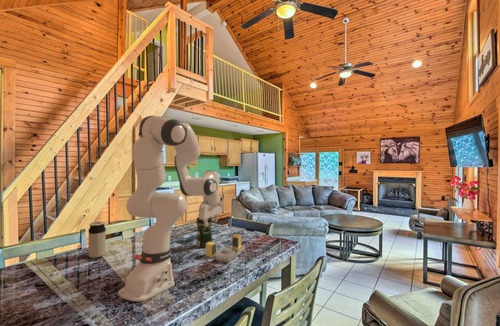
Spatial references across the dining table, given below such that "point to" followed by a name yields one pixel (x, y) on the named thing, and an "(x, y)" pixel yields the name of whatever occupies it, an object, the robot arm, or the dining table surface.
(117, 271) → the dining table surface
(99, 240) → the travel mug
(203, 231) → the coffee jar
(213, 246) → the yellow block grey top
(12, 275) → the dining table surface
